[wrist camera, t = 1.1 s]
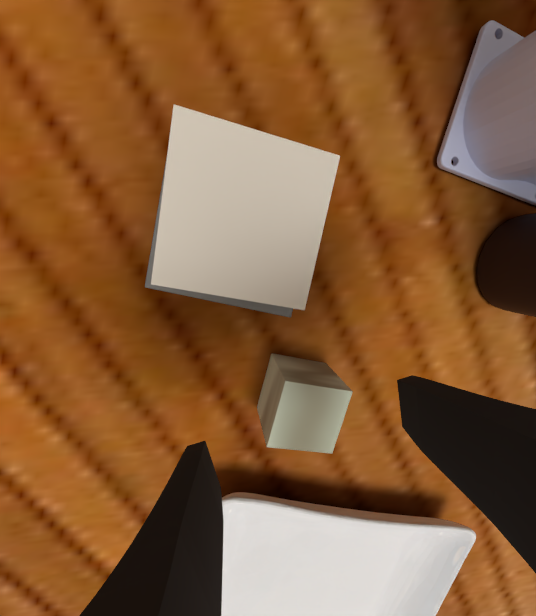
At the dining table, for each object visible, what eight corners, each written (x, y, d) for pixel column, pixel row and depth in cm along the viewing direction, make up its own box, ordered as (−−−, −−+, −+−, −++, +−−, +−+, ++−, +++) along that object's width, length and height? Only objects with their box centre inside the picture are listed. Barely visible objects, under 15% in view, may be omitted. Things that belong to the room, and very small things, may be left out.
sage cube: (325, 362, 19) (352, 391, 15) (309, 413, 20) (332, 453, 16) (271, 352, 18) (285, 380, 14) (256, 406, 19) (266, 447, 15)
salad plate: (144, 677, 23) (132, 750, 20) (215, 459, 20) (214, 502, 16) (361, 668, 28) (381, 724, 24) (447, 493, 25) (483, 531, 21)
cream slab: (319, 171, 14) (340, 155, 12) (290, 300, 16) (304, 310, 13) (181, 131, 13) (173, 104, 10) (161, 278, 14) (150, 284, 12)
